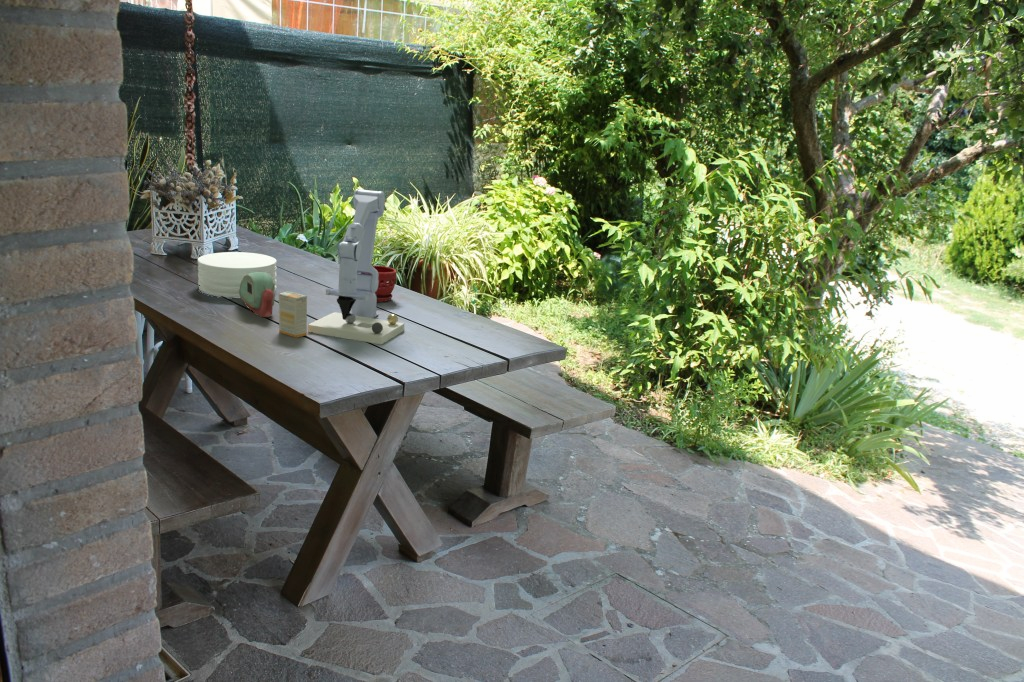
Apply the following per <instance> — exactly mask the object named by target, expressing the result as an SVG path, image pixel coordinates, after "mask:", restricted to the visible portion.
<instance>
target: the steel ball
mask: <svg viewBox="0 0 1024 682" xmlns="http://www.w3.org/2000/svg"><path fill="white" fill-rule="evenodd" d="M355 320H356V317H355V315H354V314H352V313H351V312H350V313H348V314H347V316H346V320H345V321H346V322H347V323H349V324H352V323H354V322H355Z"/></svg>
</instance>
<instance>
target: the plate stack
mask: <svg viewBox="0 0 1024 682" xmlns="http://www.w3.org/2000/svg"><path fill="white" fill-rule="evenodd" d="M197 270H198V272H197V277H198V280H197V283H198V286H199V285H200V286H199V289H200V290H202V291H204V292H206V293H209V294H213V295H219V296H229V297H240V295H239V289H240V284H241V281H242V279H243V277H244V276H246V275H248V274H250V273H253V272H264V273H267V274H269V275H271V277H272V279H273V282H274V284H275V285H274V290H276V288H277V259H276V258H275V257H273V256H270V255H267V254H262V253H256V252H245V251H244V252H242V251H241V252H239V251H227V252H226V251H225V252H224V251H223V252H214V253H208V254H204V255H201V256H199V257H198V258H197ZM276 291H277V290H276Z"/></svg>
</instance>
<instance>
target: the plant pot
mask: <svg viewBox="0 0 1024 682" xmlns="http://www.w3.org/2000/svg"><path fill="white" fill-rule="evenodd" d="M372 266H373V267H374V268H375V269H376V270H377V271H378V274H379V275H378V280H379V283H378V289H377V291H376V292H375V294H376V297H377V303H383V302H388V301H390V300H391V299H393V294H392V292H393V290H394V288H395V285H396V281H397V270H396V269H395V268H392V267H389V266H384V265H383V266H382V265H372ZM360 274H367V273H360ZM369 275H372V274H369Z"/></svg>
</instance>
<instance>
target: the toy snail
mask: <svg viewBox="0 0 1024 682" xmlns="http://www.w3.org/2000/svg"><path fill="white" fill-rule="evenodd" d="M274 285H275V284H274V282H273V279H272V277H271V275H269V274H267V273H264V272H253V273H250V274H248V275H246V276H244V277H243V279H242V281H241V284H240V289H239V295H240V298H241V300H242V301H243V302H244V304H245V303H246V305H247V306H248V307H249V309H250V310H249V309H248V310H249V311H251V310H252V311H253V312H254V313H253V312H252V311H251V312H252V313H253V314H255V313H256V314H258V315H259V316H258V315H257V316H258V317H260V316H262V317H261V318H269V317H272V315H273V307H274V305H275V299H276V298H275V297H276V294H275V293H276V292H275V290H274ZM246 305H245V306H246ZM256 314H255V315H256Z"/></svg>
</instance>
